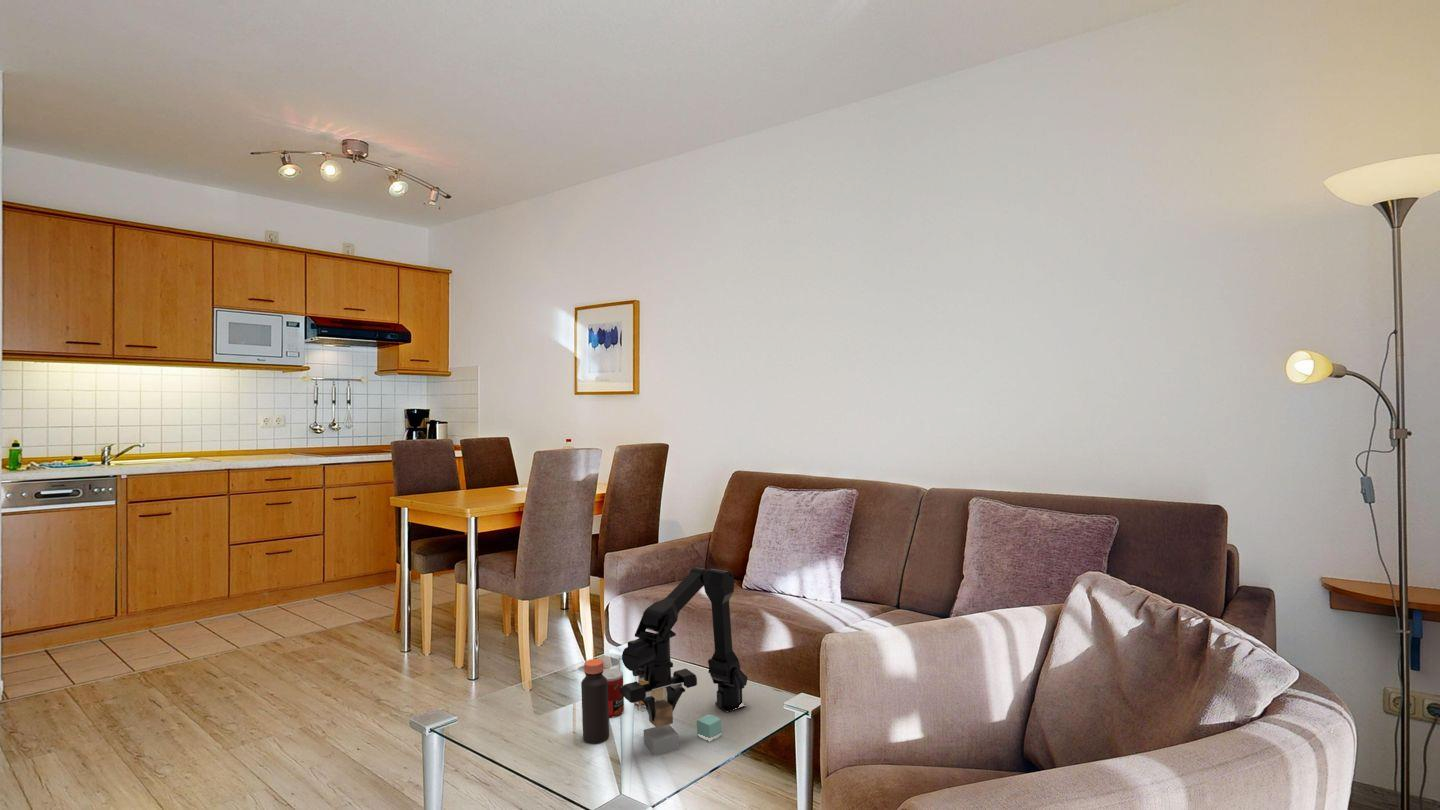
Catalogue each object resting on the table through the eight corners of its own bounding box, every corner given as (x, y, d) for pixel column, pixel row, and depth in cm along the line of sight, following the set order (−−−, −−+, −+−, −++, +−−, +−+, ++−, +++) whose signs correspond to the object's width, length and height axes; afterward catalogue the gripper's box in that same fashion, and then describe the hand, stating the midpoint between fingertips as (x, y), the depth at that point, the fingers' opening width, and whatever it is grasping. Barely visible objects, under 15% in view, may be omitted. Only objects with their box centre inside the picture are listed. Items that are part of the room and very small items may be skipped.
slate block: (669, 738, 193) (669, 723, 193) (679, 750, 187) (679, 735, 187) (643, 745, 190) (643, 729, 190) (653, 757, 184) (652, 741, 184)
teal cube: (709, 730, 197) (709, 714, 197) (721, 736, 194) (721, 719, 194) (697, 737, 194) (696, 720, 194) (709, 742, 191) (709, 725, 190)
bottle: (587, 746, 190) (585, 669, 189) (579, 735, 196) (577, 660, 195) (612, 740, 193) (610, 664, 192) (604, 729, 199) (602, 655, 198)
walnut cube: (664, 716, 192) (664, 699, 192) (672, 723, 188) (672, 705, 188) (649, 721, 189) (648, 703, 189) (656, 727, 186) (656, 710, 185)
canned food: (618, 719, 205) (617, 679, 204) (591, 717, 206) (590, 678, 206) (627, 706, 212) (626, 669, 212) (601, 705, 214) (600, 667, 213)
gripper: (676, 640, 200) (678, 697, 200) (612, 655, 190) (614, 715, 191) (697, 653, 190) (698, 713, 191) (630, 670, 180) (632, 733, 181)
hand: (660, 718), depth 189 cm, fingers closed on walnut cube, 4 cm apart
